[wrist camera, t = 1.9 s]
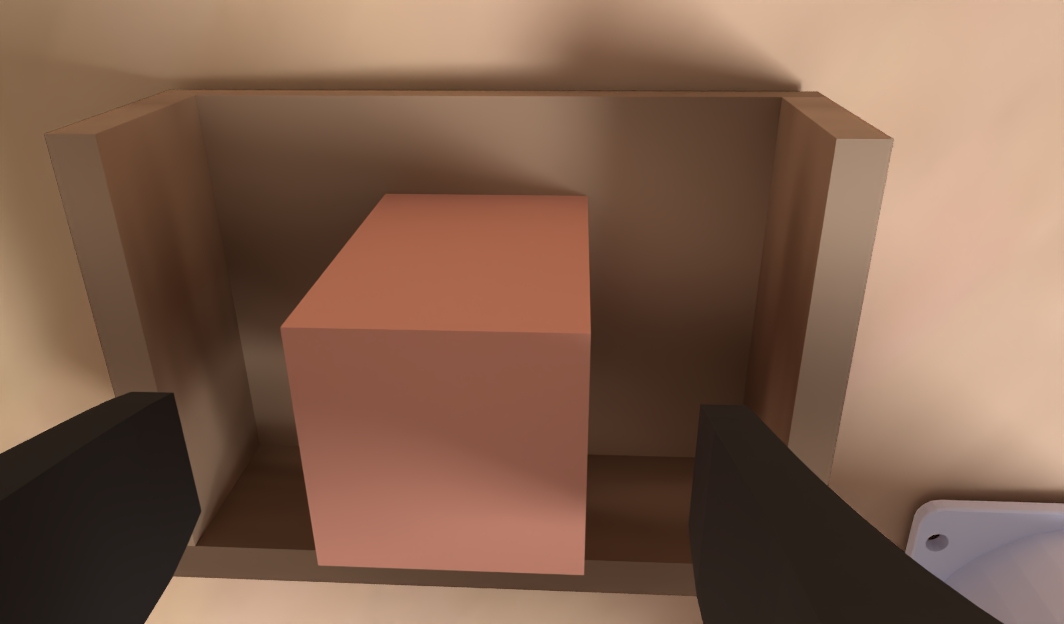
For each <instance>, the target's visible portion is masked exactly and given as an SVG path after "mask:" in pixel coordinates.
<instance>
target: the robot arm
mask: <svg viewBox="0 0 1064 624" xmlns="http://www.w3.org/2000/svg"><path fill="white" fill-rule="evenodd" d="M200 514H201V506H200V502H199V498H198V494H197V489H196V485H195V481H194V477H193V472H192V468H191V464H190V459H189V455H188V451H187V447H186V442H185V438H184V434H183V430H182V425H181V421H180V417H179V413H178V408H177V404H176V400H175V396H174V393H170V392H129V393H126V394H124V395H121V396H118V397H116V398H113V399H111V400H109V401H106V402H104V403H102V404H100V405H98V406H95V407H93V408H91V409H89V410H87V411H85V412H83V413H81V414H79V415H77V416H75V417H73V418H71V419H69V420H66V421H64V422H62V423H60V424H58V425H56V426H55V427H53V428H51V429H49V430H47V431H45V432H43V433H41V434H39V435H37V436H35V437H33V438H31V439H29V440H27V441H25V442H23V443H21V444H19V445H17V446H15V447H13V448H11V449H9V450H7V451H5V452H3V453H1V454H0V624H144V623H145V622H146V620H147V618H148V617H149V615H150V613H151V612H152V610H153V609H154V607H155V605H156V604H157V602H158V600H159V599H160V597H161V596H162V594H163V592H164V591H165V589H166V587H167V585H168V584H169V582H170V580H171V579H172V577H173V575H174V573H175V571H176V569H177V567H178V564H179V562H180V560H181V558H182V556H183V554H184V552H185V549H186V547H187V545H188V543H189V540H190V538H191V535H192V533H193V531H194V528H195V526H196V523H197V521H198V519H199V516H200ZM688 528H689V537H690V546H691V555H692V563H693V571H694V579H695V587H696V594H697V599H698V603H699V607H700V611H701V616H702V620H703V624H1064V503H1032V502H999V501H966V500H933V501H930V502H927V503H925V504H923V505H922V506H921V507H920V508H919V509H917V511H916V513H915V515H914V519H913V523H912V527H911V531H910V535H909V539H908V543H907V547H906V550H905V553H904V552H903V551H902V550H901V549H899V548H898V547H897V546H896V545H895V544H894V543H892V542H891V541H890V540H889V539H888V538H886V537H885V536H884V535H883V534H882V533H880V532H879V531H878V530H877V529H876V528H874V527H873V526H872V525H871V524H870V523H868V522H867V521H866V520H865V519H864V518H862V517H861V516H860V515H859V514H858V513H857V512H856V511H855V510H853V509H852V508H851V507H850V506H849V505H848V504H847V503H846V502H844V501H843V500H842V499H841V498H840V497H839V496H838V495H837V494H836V493H835V492H833V491H832V490H831V489H830V488H829V487H828V486H827V485H826V484H825V483H824V482H823V481H822V480H821V479H820V478H819V477H818V476H817V475H815V474H814V473H813V472H812V471H811V470H810V469H809V468H808V467H807V466H806V465H805V464H804V463H803V462H802V461H801V460H800V459H799V458H798V457H797V456H796V455H795V454H794V453H793V452H792V451H791V450H790V449H789V448H788V447H787V446H786V445H785V444H784V443H783V442H782V441H781V440H780V439H779V438H778V437H777V436H776V435H775V434H774V432H773V431H772V430H771V429H770V428H769V427H768V426H767V425H766V424H765V423H764V422H763V421H762V420H761V419H760V418H759V417H758V416H757V415H756V414H755V413H754V412H753V411H752V410H751V409H750V408H749V407H748V406H747V405H709V404H700V413H699V423H698V433H697V443H696V453H695V463H694V473H693V483H692V493H691V503H690V513H689V523H688ZM937 534H940V536H939V537H937V538H935V539H933V540H927V539H928V538H929V537H931V536H933V535H937Z"/></svg>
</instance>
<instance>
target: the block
mask: <svg viewBox="0 0 1064 624" xmlns="http://www.w3.org/2000/svg"><path fill="white" fill-rule="evenodd" d="M280 329H281V336H282V342H283V348H284V354H285V361H286V367H287V373H288V379H289V386H290V392H291V398H292V404H293V411H294V417H295V423H296V429H297V436H298V442H299V448H300V455H301V461H302V467H303V473H304V480H305V486H306V492H307V498H308V505H309V511H310V517H311V523H312V530H313V536H314V542H315V548H316V555H317V561H318V565H320V566H347V567H375V568H402V569H429V570H457V571H484V572H511V573H539V574H566V575H584V559H585V524H586V488H587V452H588V417H589V381H590V346H591V319H590V276H589V234H588V196H558V195H459V194H385V195H384V196H383V198H382V199H381V200H380V201H379V203H378V204H377V205H376V206H375V208H374V209H373V210H372V212H371V213H370V214H369V215H368V217H367V218H366V219H365V220H364V222H363V223H362V224H361V225H360V227H359V228H358V229H357V231H356V232H355V233H354V234H353V236H352V237H351V238H350V239H349V241H348V242H347V243H346V245H345V246H344V247H343V248H342V250H341V251H340V252H339V253H338V255H337V256H336V257H335V258H334V260H333V261H332V262H331V264H330V265H329V266H328V267H327V269H326V270H325V271H324V272H323V274H322V275H321V276H320V278H319V279H318V280H317V281H316V283H315V284H314V285H313V286H312V288H311V289H310V290H309V291H308V293H307V294H306V295H305V297H304V298H303V299H302V300H301V302H300V303H299V304H298V305H297V307H296V308H295V309H294V311H293V312H292V313H291V314H290V316H289V317H288V318H287V319H286V321H285V322H284V323H283V324H282V326H281V327H280Z"/></svg>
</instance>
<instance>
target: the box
mask: <svg viewBox="0 0 1064 624" xmlns="http://www.w3.org/2000/svg"><path fill="white" fill-rule="evenodd" d="M44 135H45V139H46V143H47V147H48V150H49V154H50V158H51V161H52V165H53V169H54V172H55V176H56V180H57V184H58V187H59V191H60V195H61V198H62V202H63V206H64V209H65V213H66V217H67V220H68V224H69V228H70V232H71V235H72V239H73V243H74V246H75V250H76V254H77V257H78V261H79V265H80V268H81V272H82V276H83V280H84V283H85V287H86V291H87V294H88V298H89V302H90V305H91V309H92V313H93V317H94V320H95V324H96V328H97V331H98V335H99V339H100V342H101V346H102V350H103V353H104V357H105V361H106V365H107V368H108V372H109V376H110V379H111V383H112V387H113V390H114V394H115V398H116V397H118V396H121V395H124V394H126V393H129V392H170V393H174V396H175V400H176V404H177V408H178V413H179V417H180V421H181V425H182V430H183V434H184V438H185V442H186V447H187V451H188V455H189V459H190V464H191V468H192V472H193V477H194V481H195V485H196V489H197V494H198V498H199V502H200V506H201V514H200V516H199V519H198V521H197V523H196V526H195V528H194V531H193V533H192V535H191V538H190V540H189V543H188V545H187V547H186V549H185V552H184V554H183V556H182V558H181V560H180V562H179V564H178V567H177V569H176V571H175V573H174V575H173V576H178V577H205V578H231V579H258V580H284V581H311V582H337V583H364V584H390V585H417V586H443V587H470V588H496V589H523V590H549V591H575V592H602V593H628V594H655V595H681V596H697V594H696V587H695V579H694V571H693V563H692V555H691V546H690V537H689V528H688V523H689V513H690V503H691V493H692V483H693V473H694V463H695V453H696V443H697V433H698V423H699V413H700V404H709V405H747V406H748V407H749V408H750V409H751V410H752V411H753V412H754V413H755V414H756V415H757V416H758V417H759V418H760V419H761V420H762V421H763V422H764V423H765V424H766V425H767V426H768V427H769V428H770V429H771V430H772V431H773V432H774V434H775V435H776V436H777V437H778V438H779V439H780V440H781V441H782V442H783V443H784V444H785V445H786V446H787V447H788V448H789V449H790V450H791V451H792V452H793V453H794V454H795V455H796V456H797V457H798V458H799V459H800V460H801V461H802V462H803V463H804V464H805V465H806V466H807V467H808V468H809V469H810V470H811V471H812V472H813V473H814V474H815V475H817V476H818V477H819V478H820V479H821V480H822V481H823V482H824V483H825V484H826V485H827V486H828V483H829V478H830V473H831V468H832V462H833V457H834V452H835V447H836V441H837V436H838V431H839V425H840V420H841V415H842V410H843V404H844V399H845V394H846V388H847V383H848V378H849V373H850V367H851V362H852V357H853V352H854V346H855V341H856V336H857V330H858V325H859V320H860V315H861V309H862V304H863V299H864V293H865V288H866V283H867V278H868V272H869V267H870V262H871V256H872V251H873V246H874V241H875V235H876V230H877V225H878V220H879V214H880V209H881V204H882V198H883V193H884V188H885V183H886V177H887V172H888V167H889V161H890V156H891V151H892V146H893V140H894V139H893V138H891V137H890V136H888V135H886V134H885V133H883V132H882V131H880V130H878V129H877V128H875V127H874V126H872V125H870V124H869V123H867V122H866V121H864V120H862V119H861V118H859V117H858V116H856V115H854V114H853V113H851V112H849V111H848V110H846V109H845V108H843V107H841V106H840V105H838V104H837V103H835V102H833V101H832V100H830V99H829V98H827V97H825V96H824V95H822V94H821V93H819V92H775V91H409V90H168V91H165V92H162V93H159V94H156V95H153V96H151V97H148V98H145V99H142V100H139V101H136V102H134V103H131V104H128V105H125V106H122V107H119V108H117V109H114V110H111V111H108V112H105V113H102V114H99V115H97V116H94V117H91V118H88V119H85V120H82V121H80V122H77V123H74V124H71V125H68V126H65V127H63V128H60V129H57V130H54V131H51V132H48V133H45V134H44ZM385 194H459V195H558V196H588V234H589V276H590V319H591V346H590V381H589V417H588V452H587V488H586V524H585V559H584V575H566V574H539V573H511V572H484V571H457V570H429V569H402V568H375V567H347V566H320V565H318V561H317V555H316V548H315V542H314V536H313V530H312V523H311V517H310V511H309V505H308V498H307V492H306V486H305V480H304V473H303V467H302V461H301V455H300V448H299V442H298V436H297V429H296V423H295V417H294V411H293V404H292V398H291V392H290V386H289V379H288V373H287V367H286V361H285V354H284V348H283V342H282V336H281V329H280V327H281V326H282V324H283V323H284V322H285V321H286V319H287V318H288V317H289V316H290V314H291V313H292V312H293V311H294V309H295V308H296V307H297V305H298V304H299V303H300V302H301V300H302V299H303V298H304V297H305V295H306V294H307V293H308V291H309V290H310V289H311V288H312V286H313V285H314V284H315V283H316V281H317V280H318V279H319V278H320V276H321V275H322V274H323V272H324V271H325V270H326V269H327V267H328V266H329V265H330V264H331V262H332V261H333V260H334V258H335V257H336V256H337V255H338V253H339V252H340V251H341V250H342V248H343V247H344V246H345V245H346V243H347V242H348V241H349V239H350V238H351V237H352V236H353V234H354V233H355V232H356V231H357V229H358V228H359V227H360V225H361V224H362V223H363V222H364V220H365V219H366V218H367V217H368V215H369V214H370V213H371V212H372V210H373V209H374V208H375V206H376V205H377V204H378V203H379V201H380V200H381V199H382V198H383V196H384V195H385Z"/></svg>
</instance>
